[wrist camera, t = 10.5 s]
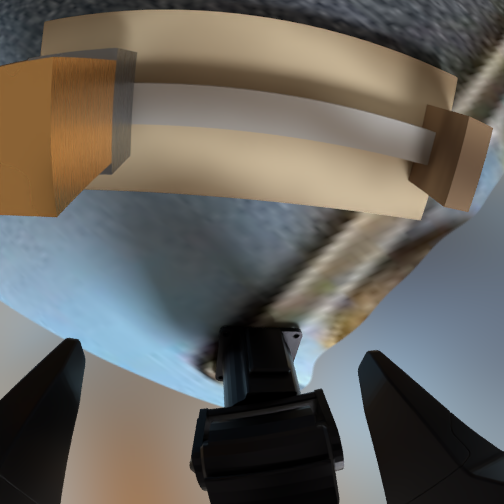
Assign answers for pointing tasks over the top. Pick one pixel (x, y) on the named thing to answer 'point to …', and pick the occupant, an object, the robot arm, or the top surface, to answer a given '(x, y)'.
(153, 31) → the rail board
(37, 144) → the slider block
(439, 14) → the top surface
